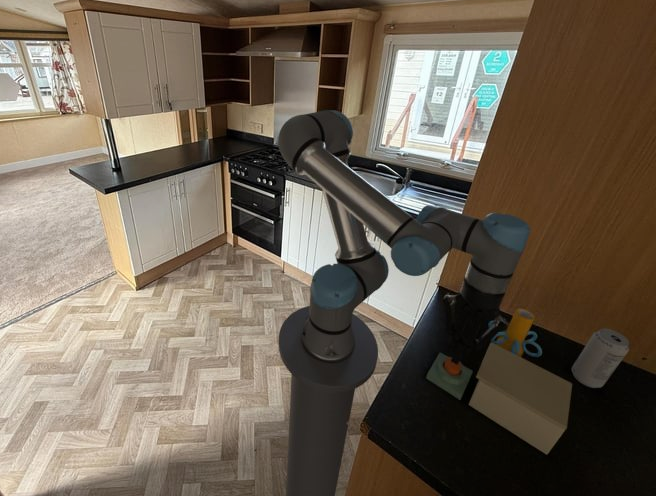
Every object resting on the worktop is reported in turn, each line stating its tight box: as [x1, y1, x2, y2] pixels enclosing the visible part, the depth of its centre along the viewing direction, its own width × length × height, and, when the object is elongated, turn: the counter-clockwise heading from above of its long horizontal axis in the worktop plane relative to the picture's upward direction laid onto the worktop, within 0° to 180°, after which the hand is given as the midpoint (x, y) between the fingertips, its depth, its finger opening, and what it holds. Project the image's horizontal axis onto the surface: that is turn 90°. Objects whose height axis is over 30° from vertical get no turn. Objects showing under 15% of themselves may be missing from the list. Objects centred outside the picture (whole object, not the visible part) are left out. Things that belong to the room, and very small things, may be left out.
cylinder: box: [487, 307, 543, 358], centre depth 82 cm, size 12×10×15 cm
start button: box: [444, 358, 462, 375], centre depth 78 cm, size 4×4×2 cm
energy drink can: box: [571, 328, 630, 389], centre depth 76 cm, size 6×6×15 cm
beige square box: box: [468, 379, 566, 456], centre depth 71 cm, size 15×13×9 cm
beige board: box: [475, 341, 573, 431], centre depth 69 cm, size 15×13×1 cm
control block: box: [425, 352, 473, 401], centre depth 79 cm, size 8×9×4 cm
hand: (455, 359), depth 76 cm, fingers closed
